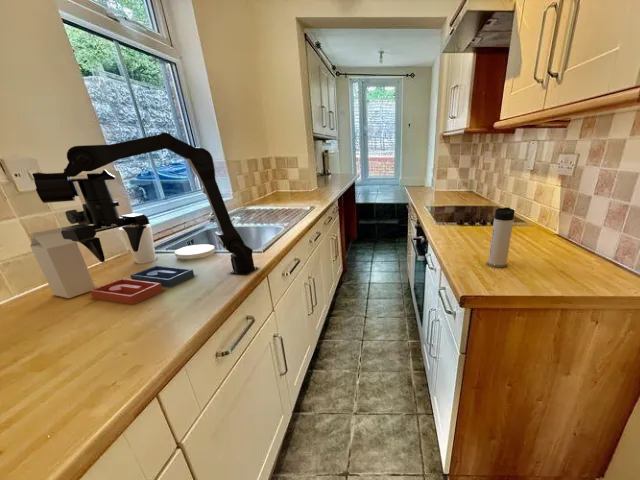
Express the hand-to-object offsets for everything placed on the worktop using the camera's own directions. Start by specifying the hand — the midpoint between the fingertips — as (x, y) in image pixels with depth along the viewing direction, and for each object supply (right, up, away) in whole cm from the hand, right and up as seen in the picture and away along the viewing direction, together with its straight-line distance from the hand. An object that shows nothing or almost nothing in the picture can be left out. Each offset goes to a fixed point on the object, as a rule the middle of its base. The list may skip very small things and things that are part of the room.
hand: (120, 256), depth 88 cm
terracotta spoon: (-2, -10, +5) cm, 12 cm away
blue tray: (+1, -6, +16) cm, 17 cm away
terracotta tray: (-2, -11, +5) cm, 12 cm away
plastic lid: (-1, +4, +38) cm, 39 cm away
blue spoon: (+1, -5, +16) cm, 17 cm away
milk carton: (-19, -10, +7) cm, 23 cm away
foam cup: (-18, +2, +33) cm, 38 cm away
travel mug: (+114, 0, +27) cm, 118 cm away
